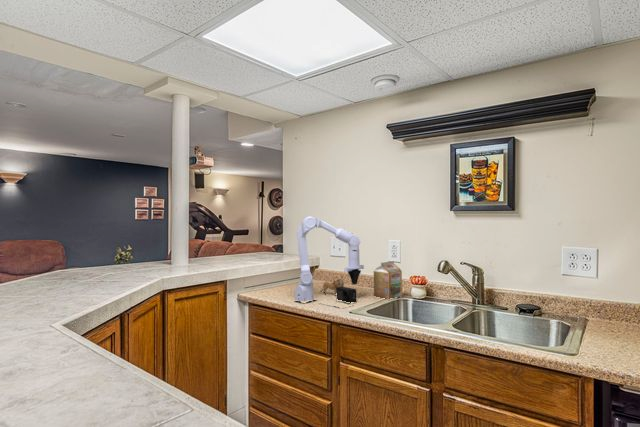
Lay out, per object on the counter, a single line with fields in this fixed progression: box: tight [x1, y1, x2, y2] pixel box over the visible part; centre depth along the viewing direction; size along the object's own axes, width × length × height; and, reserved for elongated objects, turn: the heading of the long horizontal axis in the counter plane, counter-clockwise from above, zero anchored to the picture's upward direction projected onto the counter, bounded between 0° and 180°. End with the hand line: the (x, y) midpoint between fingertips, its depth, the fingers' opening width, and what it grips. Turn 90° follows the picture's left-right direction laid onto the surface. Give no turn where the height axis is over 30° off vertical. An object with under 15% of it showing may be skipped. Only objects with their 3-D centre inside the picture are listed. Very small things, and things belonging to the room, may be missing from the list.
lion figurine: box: [319, 278, 345, 295], centre depth 212 cm, size 15×5×9 cm, turn 68°
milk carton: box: [373, 260, 403, 300], centre depth 203 cm, size 11×11×19 cm
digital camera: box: [336, 286, 357, 303], centre depth 194 cm, size 10×5×7 cm, turn 41°
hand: (354, 283), depth 199 cm, fingers closed
